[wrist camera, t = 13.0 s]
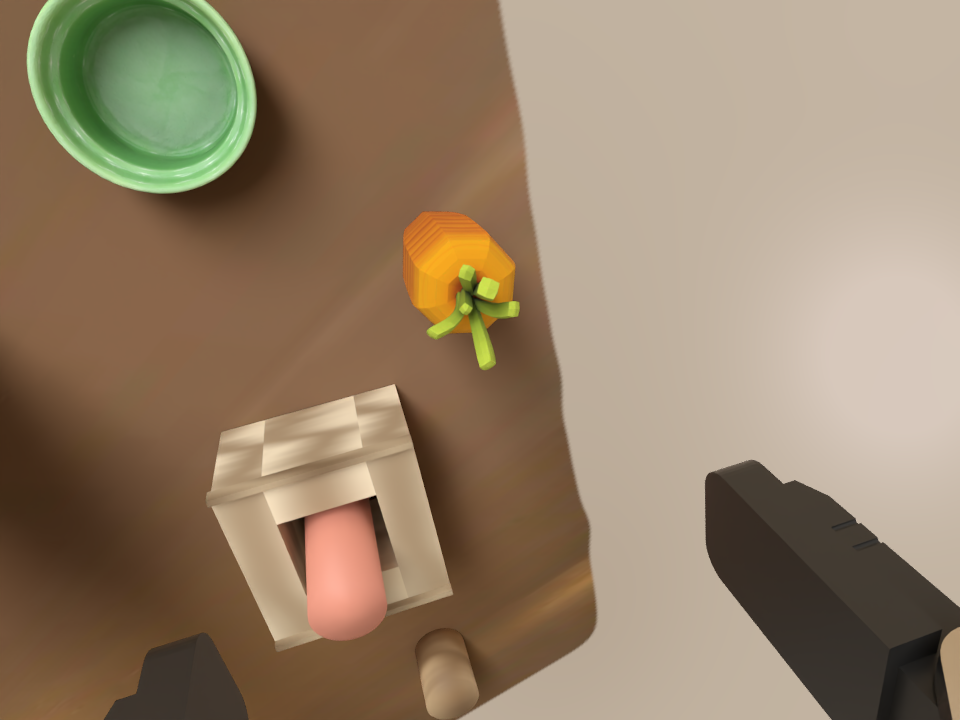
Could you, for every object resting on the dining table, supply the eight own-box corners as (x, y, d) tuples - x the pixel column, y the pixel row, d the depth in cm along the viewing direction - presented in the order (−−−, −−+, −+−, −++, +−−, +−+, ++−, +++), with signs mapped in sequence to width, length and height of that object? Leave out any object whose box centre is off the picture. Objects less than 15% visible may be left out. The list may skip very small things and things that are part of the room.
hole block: (278, 565, 46) (276, 652, 40) (218, 426, 41) (205, 501, 34) (430, 518, 48) (453, 594, 41) (393, 378, 42) (412, 441, 36)
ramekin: (95, -67, 29) (66, -83, 26) (289, 46, 33) (289, 47, 29) (32, 120, 32) (-3, 132, 28) (220, 206, 35) (212, 227, 32)
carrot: (444, 280, 40) (518, 396, 27) (368, 250, 38) (408, 360, 25) (479, 204, 39) (575, 290, 26) (402, 169, 37) (463, 242, 24)
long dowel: (313, 507, 45) (320, 650, 35) (295, 460, 43) (297, 596, 33) (370, 490, 46) (394, 625, 35) (355, 443, 44) (376, 571, 33)
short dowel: (420, 670, 54) (432, 726, 50) (410, 638, 53) (421, 692, 48) (467, 655, 55) (482, 708, 51) (458, 622, 53) (474, 674, 49)
